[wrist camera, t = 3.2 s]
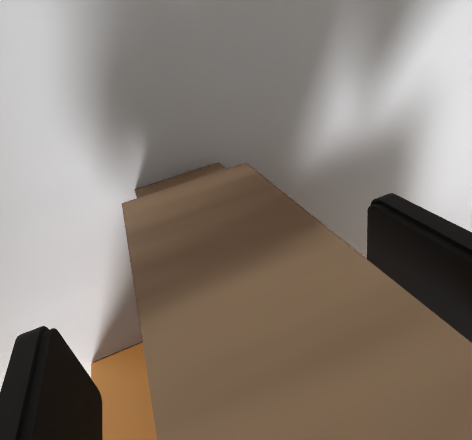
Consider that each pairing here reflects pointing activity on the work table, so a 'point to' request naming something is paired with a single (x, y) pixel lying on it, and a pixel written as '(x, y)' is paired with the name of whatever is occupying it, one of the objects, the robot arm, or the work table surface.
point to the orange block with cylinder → (125, 395)
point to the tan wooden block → (281, 323)
